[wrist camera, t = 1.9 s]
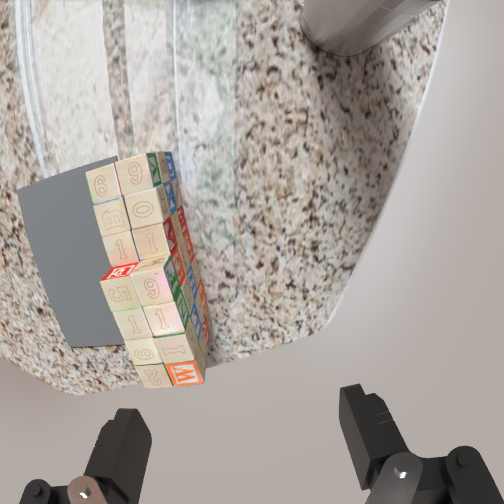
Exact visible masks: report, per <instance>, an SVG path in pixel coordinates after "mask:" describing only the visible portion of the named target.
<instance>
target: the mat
mask: <svg viewBox="0 0 504 504" xmlns="http://www.w3.org/2000/svg"><path fill="white" fill-rule="evenodd" d="M115 162H118V160H117V156H114V157H111V158H107V159H104V160H101V161H97V162H94V163H91V164H88V165H84V166H81V167H78V168H75V169H72V170H69V171H66V172H63V173H61V174H58V175H55V176H52V177H49V178H47V179H44V180H41V181H38V182H36V183H33V184H31V185H28V186H26V187H23V188H21V189H18V190H17V194H18V199H19V203H20V207H21V212H22V216H23V220H24V224H25V228H26V231H27V235H28V239H29V242H30V245H31V249H32V252H33V255H34V259H35V262H36V265H37V268H38V271H39V274H40V277H41V279H42V282H43V285H44V288H45V291H46V293H47V296H48V298H49V301H50V304H51V306H52V309H53V311H54V313H55V316H56V318H57V321H58V323H59V325H60V328H61V330H62V332H63V334H64V337H65V339H66V341H67V343H68V345H69V347H86V346H104V345H119V344H125V343H124V338H123V337H122V334H121V332H120V330H119V327H118V325H117V323H116V321H115V318H114V315H113V312H112V311H111V310H110V307H109V305H108V302H107V299H106V297H105V295H104V292H103V289H102V287H101V284H100V280H101V279H102V278H103V277H104V276H105V275H106V274H107V273H108V271H109V270H110V269H112V268H113V267H112V266H111V264H110V261H109V258H108V256H107V253H106V250H105V247H104V243H103V240H102V236H101V233H100V229H99V226H98V223H97V219H96V215H95V212H94V208H93V205H94V204H93V202H92V198H91V195H90V190H89V187H88V182H87V178H86V172H88V171H91V170H94V169H97V168H100V167H103V166H106V165H109V164H113V163H115Z"/></svg>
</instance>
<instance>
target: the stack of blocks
mask: <svg viewBox="0 0 504 504" xmlns="http://www.w3.org/2000/svg"><path fill="white" fill-rule="evenodd" d="M86 178H87V182H88V187H89V190H90V195H91V198H92V202H93V204H94V205H93V208H94V212H95V215H96V219H97V223H98V226H99V229H100V233H101V236H102V240H103V243H104V247H105V250H106V253H107V256H108V258H109V261H110V264H111V266H112V267H113V268H112V269H110V270H109V271H108V273H107V274H106V275H105V276H104V277H103V278H102V279H101V280H100V284H101V287H102V289H103V292H104V295H105V297H106V299H107V302H108V305H109V307H110V310H111V311H112V312H113V315H114V318H115V321H116V323H117V325H118V327H119V330H120V332H121V334H122V337H123V338H124V343H125V345H126V347H127V349H128V352H129V354H130V356H131V358H132V360H133V362H134V364H135V365H136V370H137V372H138V374H139V376H140V378H141V380H142V382H143V384H144V386H145V388H147V389H149V388H166V387H172V386H173V385H174V386H188V385H196V384H203V383H204V381H205V369H206V363H207V354H208V341H209V333H210V329H211V317H210V314H209V310H208V306H207V302H206V296H205V292H204V288H203V284H202V280H201V277H200V272H199V268H198V264H197V260H196V256H195V255H194V253H193V248H192V245H191V240H190V236H189V232H188V230H187V226H186V221H185V217H184V213H183V208H182V199H181V195H180V190H179V186H178V181H177V178H176V173H175V168H174V164H173V159H172V154H171V152H163V151H160V152H152V153H145V154H141V155H138V156H134V157H131V158H127V159H124V160H121V161H118V162H115V163H113V164H109V165H106V166H103V167H100V168H97V169H94V170H91V171H88V172H86Z"/></svg>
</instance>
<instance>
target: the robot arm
mask: <svg viewBox="0 0 504 504" xmlns="http://www.w3.org/2000/svg"><path fill="white" fill-rule="evenodd" d="M440 1H442V0H304V2H303V4H302V7H301V9H300V15H299V18H300V24H301V27H302V30H303V31H304V33H305V35H306V36H307V37H308V39H309V40H310V41H311V42H312V43H313V44H315V45H316V46H317V47H318V48H320V49H322V50H324V51H326V52H328V53H331V54H334V55H339V56H353V55H357V54H360V53H362V52H364V51H365V50H366V49H368V48H369V47H371V46H378V45H379V44H381V43H382V42H384V41H385V40H387V39H389V38H390V37H392V36H393V35H395V34H396V33H398V32H399V31H401V30H403V29H404V28H406V27H407V26H409V25H411V24H412V23H414V21H415V17H416V16H417V15H419V14H421V13H422V12H424V11H425V10H427V9H428V8H430V7H432V6H433V5H435V4H437V3H438V2H440ZM339 420H340V425H341V428H342V431H343V434H344V437H345V440H346V443H347V446H348V449H349V452H350V455H351V458H352V461H353V465H354V467H355V471H356V474H357V477H358V480H359V483H360V486H361V489H362V490H366V489H369V488H370V491H371V493H370V495H369V497H368V499H367V501H366V503H365V504H504V501H503V499H502V497H501V495H500V492H499V490H498V488H497V486H496V484H495V482H494V480H493V478H492V476H491V474H490V472H489V470H488V468H487V466H486V465H485V463H484V461H483V459H482V457H481V455H480V453H479V452H478V451H477V450H476V449H475V448H473V447H470V446H459V447H457V448H455V449H453V450H452V451H451V452H450V453H449V454H448V456H445V457H436V458H421V457H418V456H417V455H415V454H413V453H411V452H410V451H409V449H408V448H407V446H406V444H405V442H404V440H403V438H402V436H401V434H400V432H399V430H398V428H397V426H396V424H395V422H394V420H393V418H392V416H391V414H390V412H389V410H388V408H387V406H386V404H385V402H384V400H383V399H381V398H380V397H379V396H377V395H376V394H375V393H372V394H368V395H365V393H364V391H363V389H362V387H361V385H360V384H355V385H351V386H347V387H342V388H340V401H339ZM151 444H152V438H151V433H150V431H149V429H148V427H147V426H146V424H145V422H144V420H143V418H142V416H141V415H140V413H139V411H138V410H137V409H124V408H123V409H122V408H121V409H118V410H117V412H116V415H115V418H114V420H109V421H108V422H107V423H106V424H105V425H104V426H103V427H102V428H101V431H100V434H99V436H98V440H97V441H96V444H95V447H94V449H93V451H92V454H91V457H90V459H89V462H88V464H87V467H86V470H85V473H84V475H83V476H80V477H77V478H75V479H73V480H72V481H71V482H70V484H69V485H67V486H56V487H51V486H50V485H49V484H48V483H47V482H46V481H44V480H41V479H36V480H32V481H31V482H30V483H28V485H27V486H26V487H25V490H24V492H23V495H22V498H21V501H20V503H19V504H138V502H139V498H140V492H141V488H142V484H143V479H144V475H145V470H146V466H147V461H148V457H149V453H150V448H151Z"/></svg>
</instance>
